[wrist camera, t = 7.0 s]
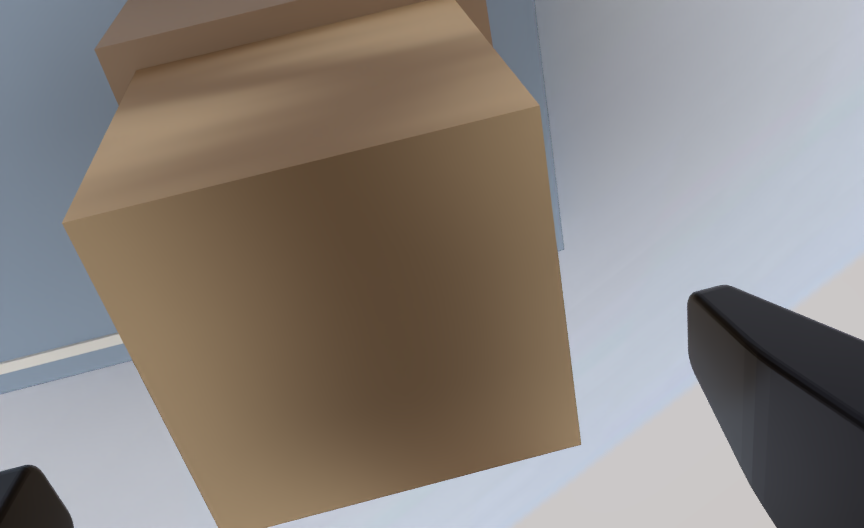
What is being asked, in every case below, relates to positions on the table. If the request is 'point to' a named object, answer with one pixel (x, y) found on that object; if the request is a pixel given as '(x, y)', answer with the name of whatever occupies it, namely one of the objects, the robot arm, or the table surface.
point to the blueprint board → (90, 118)
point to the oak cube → (334, 262)
